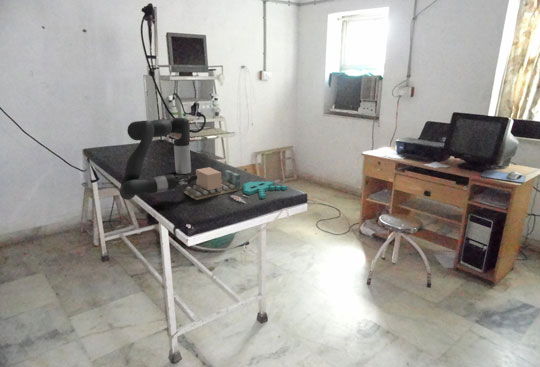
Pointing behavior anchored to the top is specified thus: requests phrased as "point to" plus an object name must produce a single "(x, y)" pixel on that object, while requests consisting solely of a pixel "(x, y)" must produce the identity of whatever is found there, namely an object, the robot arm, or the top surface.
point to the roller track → (227, 186)
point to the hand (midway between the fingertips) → (196, 177)
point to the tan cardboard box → (209, 178)
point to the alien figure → (260, 188)
